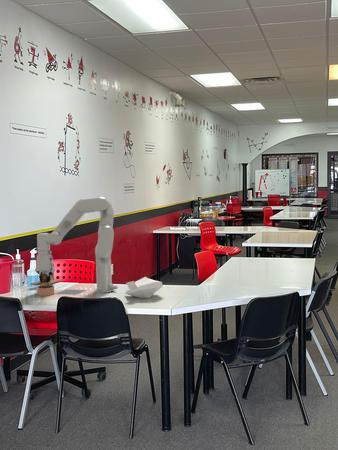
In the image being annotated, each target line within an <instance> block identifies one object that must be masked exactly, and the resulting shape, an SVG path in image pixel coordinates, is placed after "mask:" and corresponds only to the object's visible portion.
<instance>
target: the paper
mask: <svg viewBox="0 0 338 450" xmlns="http://www.w3.org/2000/svg"><path fill="white" fill-rule="evenodd" d="M125 285H127V287H128V288H127V290H126V291H125V292H124V294H126V295H128V296H131V297H135V298H139V299H145V298H146V299H150V298H151V297H152V296H153V295H154V294H156V292H158V291H159V290H160V289H161V288H162V287H163V282H162V281H159V280H154V279H151V278H148V277H147V276H144V277H141V278H140V279H138V280H136V281H135V280H133V281H128V282H125Z"/></svg>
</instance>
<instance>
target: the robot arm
mask: <svg viewBox="0 0 338 450" xmlns="http://www.w3.org/2000/svg"><path fill="white" fill-rule="evenodd" d="M95 212H99V215H100V216H99V223H98V224H99V225H98V231H97V243H96V246H95V248H94V253H95V271H96V272H95V276H96V288H95V289H94V292H95V293H104V292H107V293H112V292H111V291H113V292H115V290H117V289H118V285H114V283H113V282H112V279H113V278H112V258H111V257H112V252H113V248H114V247H113V246H114V238H115V232H114V231H115V230H114V226H113V225H114V217H115V212H114V208H113V206H112V203H110V201H109V200H107V199H106V198H105V196H98V197H93V198H82V199H78V200H77V201H76V202H75V203H74V205H73V206H72V207H71V208H70V209H69V210H68V212H67V213H66V214H65V215H64V216H63V218H62V220H61V221H60V222H59V223H58V225H57V226H56V227H55V228H54V230H53V231H52V232H51V233H49V232H39V233H37V236H36V240H37V241H36V242H37V243H36V245H37V255H36V262H35V265H36V266H35V268H34V272H35V273H37V275H38V274H39V276H40V282H42V274H43V271H46V272H47V282H50V280H51V279H50V275H51V274H52V273H53V272H54V273H55V271H56V270H55V268H54V260H53V259H54V258H53V255H52V253H53V251H52V250H51V245H55V246H57V245H59V244H61V243H62V240H63V239H64V237H65V236H66V235H67V234H68V232H69V231H70V230H72V229H73V228H74V227H75V226H76V225H77V224H78V222H80V220H81V219H82V218H83V217H84V215H85V214H87V213H89V214H90V213H95ZM50 270H52V271H50Z"/></svg>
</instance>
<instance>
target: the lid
mask: <svg viewBox="0 0 338 450" xmlns="http://www.w3.org/2000/svg"><path fill="white" fill-rule="evenodd" d="M59 283H60V280H55V279H54V280H50V282H47V274H42V282H40V281H38V280H37V281H35V282H31V283H30V286H38V285H40V286H50V285H53V284H54V285H55V284H59ZM54 285H53V286H54Z"/></svg>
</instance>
